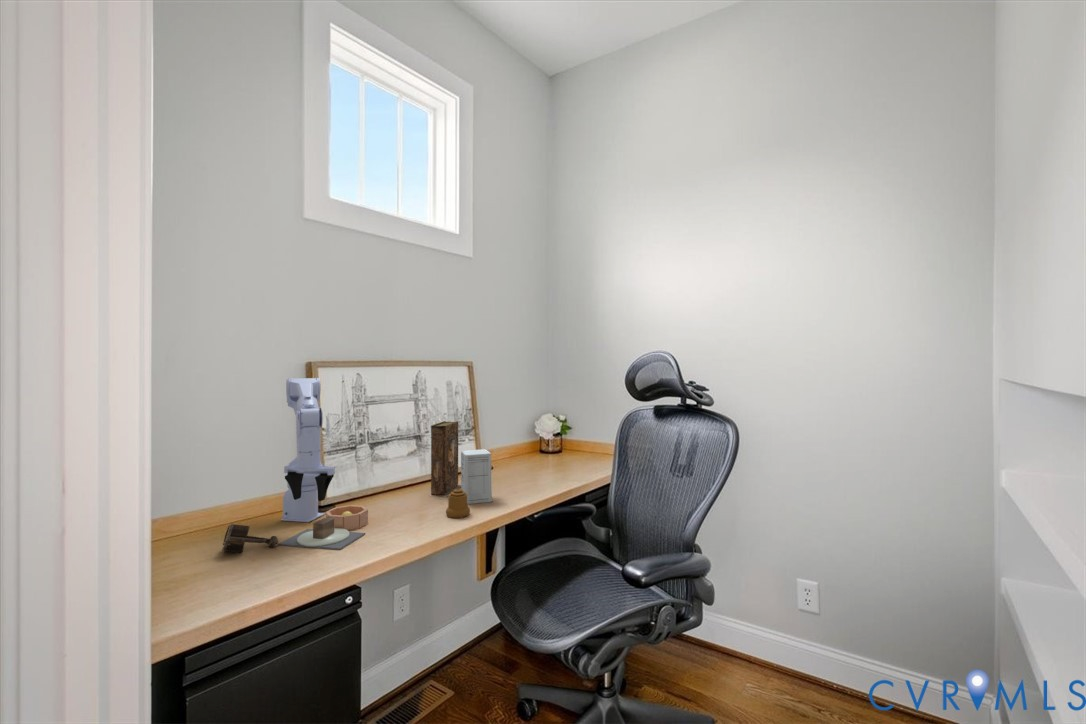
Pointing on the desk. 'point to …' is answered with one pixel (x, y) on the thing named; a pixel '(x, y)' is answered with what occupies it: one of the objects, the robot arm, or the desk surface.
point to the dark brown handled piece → (243, 538)
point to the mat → (337, 546)
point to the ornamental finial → (457, 504)
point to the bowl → (348, 516)
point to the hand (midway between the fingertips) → (309, 499)
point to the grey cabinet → (476, 475)
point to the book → (444, 457)
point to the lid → (323, 534)
